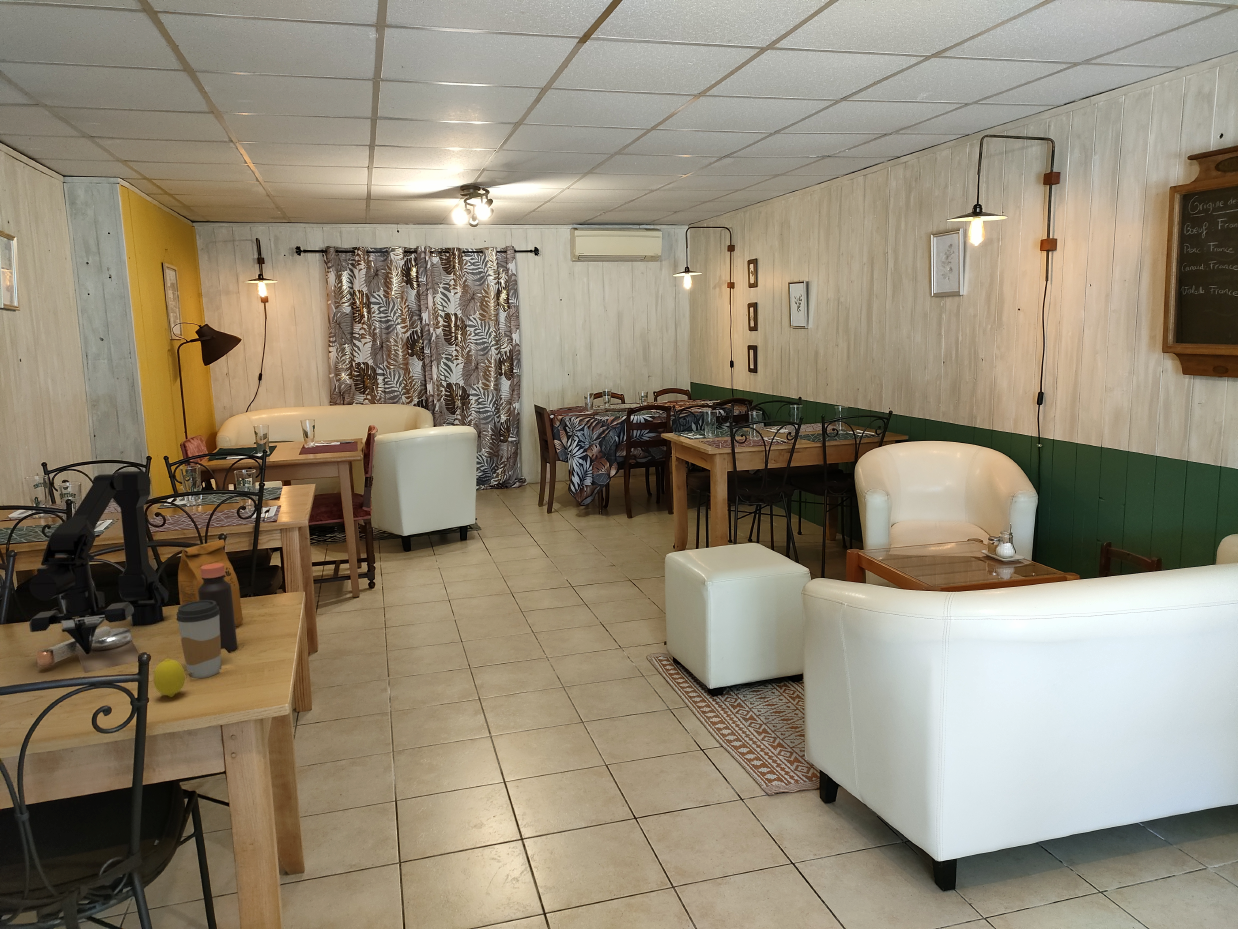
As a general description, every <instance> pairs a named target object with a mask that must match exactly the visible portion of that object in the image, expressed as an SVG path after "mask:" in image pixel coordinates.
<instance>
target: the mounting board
mask: <svg viewBox="0 0 1238 929" xmlns="http://www.w3.org/2000/svg"><path fill="white" fill-rule="evenodd" d="M139 654H140V652H139V650H138V648H137V647H136V645H135V643H134V641H133V639H131V641H130V642H129V643H127V644H125V645H122V646H120V647H116V648H112V649H107V650H91V652H90V653H89V654H86V653H85V652H84V651H82V652H79V653H77V657H78V660H79V663H80V664H81V668H82V670H83V672H84V674H86V673H88V674H89V673H92V672H96V671H101V670H105V669H110V668H115V667H119V666H122V665H127V664H131V663H136V662H139V661H138V655H139ZM140 655H141V654H140Z"/></svg>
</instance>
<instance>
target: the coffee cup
mask: <svg viewBox="0 0 1238 929" xmlns="http://www.w3.org/2000/svg"><path fill="white" fill-rule="evenodd" d="M219 614H220V611H219V607H218V606H217V604H216V602H215V601H212V600H201V601H194V602H190V603H186V604H183V605H181V606H180V605H179V607H178V608H177V612H176V621H177V624H178V629H179V634H180V641H181V646H182V652H183V656H184V657H183V658H184V662H185V665H186V670H187V672H189V673H188V675H189V677H190V678H193V679H204V678H208V677H213V676H214V675H217V674H219V672H220V670H221V668H222V666H221V664H222V658H221V657H222V656H221V654H222V649H221V639H220V622H219Z"/></svg>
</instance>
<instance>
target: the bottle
mask: <svg viewBox="0 0 1238 929" xmlns="http://www.w3.org/2000/svg"><path fill="white" fill-rule="evenodd" d="M200 570H201V577H202V580H203V584H202V585H201V586H200V588H199V589H198V595H199V601H201V600H212V601H215V602H216V604H217V606H218V607H219V611H220V614H219V622H220V639H221V650H222V649H224V650H225V651H226V652H227V653H229V654H230V653H232V652H235V650H237V648H238V638H237V629H236V627H235V619H234V609H233V600H232V590H231V585H230V584H229V583H228V582H227V581H225V580H224V576H225V568H224V564H222V563H213V564H207V565H204V566H202V567H200Z"/></svg>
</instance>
